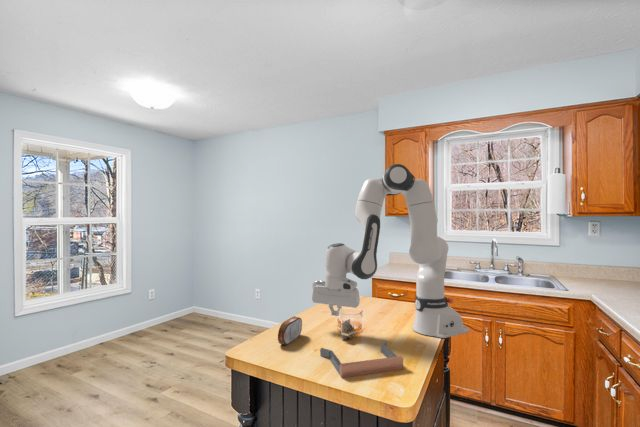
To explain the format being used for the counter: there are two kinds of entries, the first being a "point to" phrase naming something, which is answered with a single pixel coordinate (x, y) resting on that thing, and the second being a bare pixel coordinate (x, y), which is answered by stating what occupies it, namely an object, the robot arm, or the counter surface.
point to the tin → (290, 330)
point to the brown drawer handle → (365, 363)
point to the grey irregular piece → (347, 330)
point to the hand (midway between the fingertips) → (335, 315)
